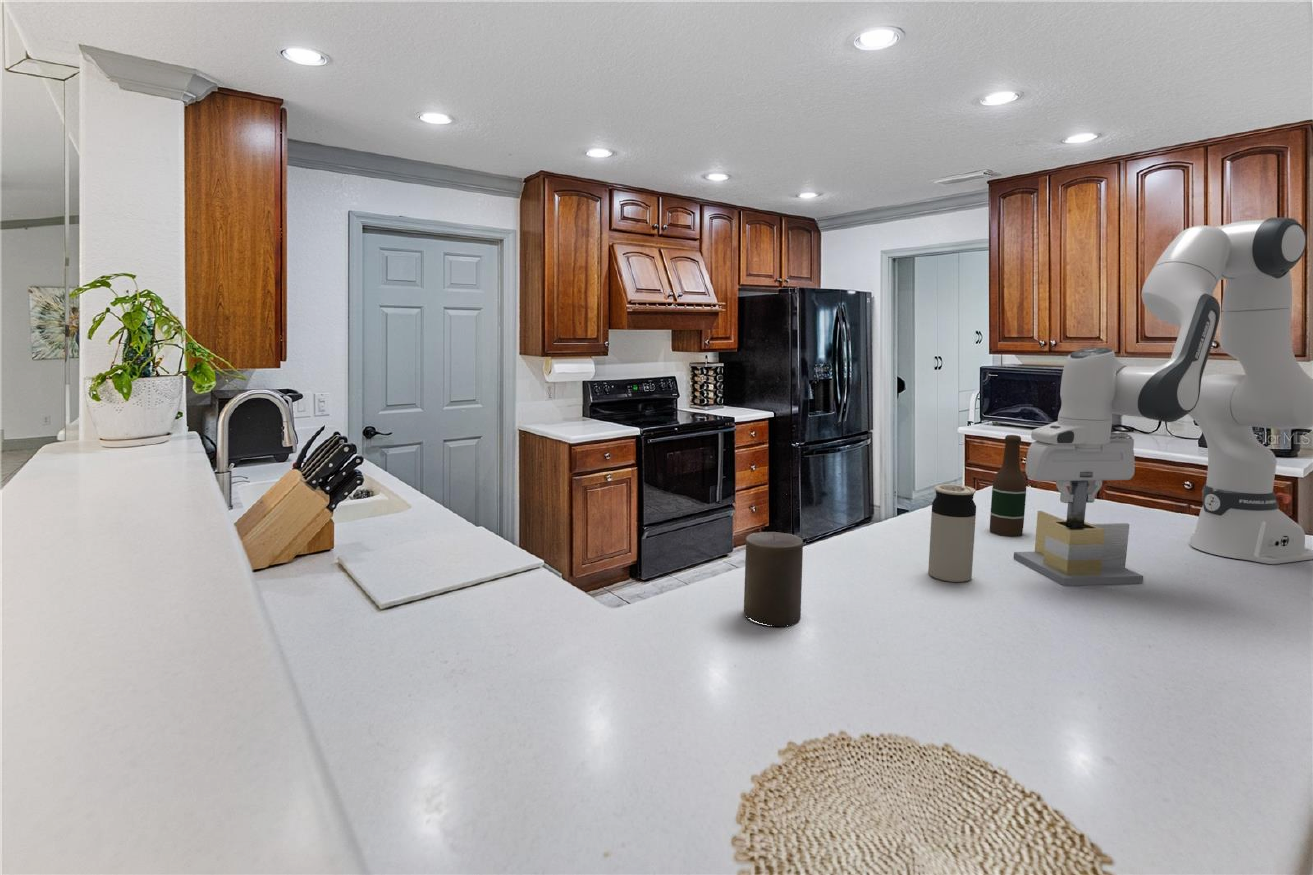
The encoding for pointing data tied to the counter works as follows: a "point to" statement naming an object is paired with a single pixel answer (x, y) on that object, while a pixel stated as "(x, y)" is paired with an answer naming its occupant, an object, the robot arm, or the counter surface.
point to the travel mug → (952, 533)
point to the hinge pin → (1078, 502)
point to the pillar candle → (773, 578)
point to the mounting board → (1106, 576)
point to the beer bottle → (1009, 493)
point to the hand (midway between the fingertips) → (1076, 502)
